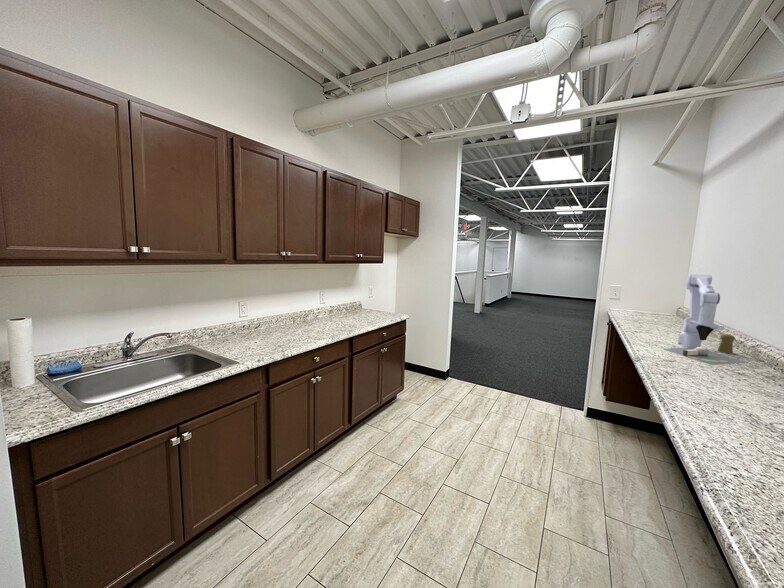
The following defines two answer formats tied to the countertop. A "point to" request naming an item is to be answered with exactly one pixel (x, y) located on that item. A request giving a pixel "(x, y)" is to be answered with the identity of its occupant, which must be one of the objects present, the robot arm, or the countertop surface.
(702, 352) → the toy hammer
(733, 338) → the cork
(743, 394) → the countertop surface
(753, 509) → the countertop surface
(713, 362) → the board
